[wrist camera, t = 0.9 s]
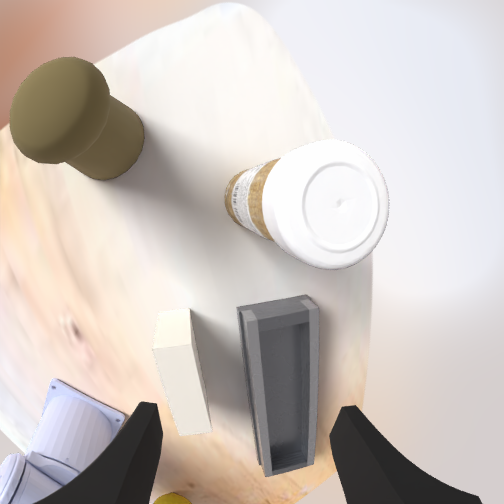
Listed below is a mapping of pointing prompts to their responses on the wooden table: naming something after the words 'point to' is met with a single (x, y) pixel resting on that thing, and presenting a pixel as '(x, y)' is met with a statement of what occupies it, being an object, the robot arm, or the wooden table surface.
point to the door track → (282, 380)
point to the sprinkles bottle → (314, 203)
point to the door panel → (181, 372)
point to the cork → (75, 120)
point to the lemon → (172, 499)
